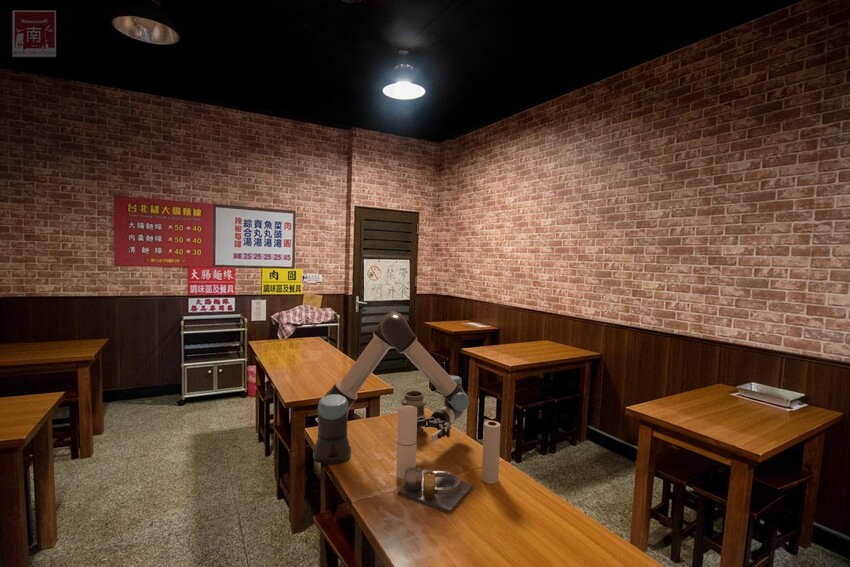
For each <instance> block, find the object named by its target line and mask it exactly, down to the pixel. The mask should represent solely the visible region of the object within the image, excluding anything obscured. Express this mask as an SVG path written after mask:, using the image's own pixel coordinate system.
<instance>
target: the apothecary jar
mask: <svg viewBox="0 0 850 567" xmlns="http://www.w3.org/2000/svg"><path fill="white" fill-rule="evenodd" d="M406 405H409V406H414V407H416V408H417V417H421V416H423V415H424V416H425V418H427V416H426V415H425V406H426V405H427V399H426V398H425V396H424V393H423V392H422V391H420V390H408V391H406V392H405V393H404V397H403V398H402V399H401V406H406ZM423 431H424V432H425V430H424V428H423V427H417V435H421V434H423V433H424V432H423Z"/></svg>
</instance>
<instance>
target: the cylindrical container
mask: <svg viewBox="0 0 850 567" xmlns="http://www.w3.org/2000/svg"><path fill="white" fill-rule="evenodd" d="M396 436H397V438H396V441H397V442H396V444H397V445H396V472H395V473H396V477H397V478H399V479H401V480H405V470H406V469H408V468H411V467H416V468H417V466H416V465H417V463H416V462H417V440H418V438H417V408H416V407H414V406H409V405H406V406H403V405H401V406H399V407H398V408H397V435H396Z"/></svg>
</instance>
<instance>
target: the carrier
mask: <svg viewBox="0 0 850 567" xmlns="http://www.w3.org/2000/svg"><path fill="white" fill-rule="evenodd" d="M473 489H474V484H472V483H470V482H469V483H468V482H466V481H463V480H460V477H459V476H458V475H457V474H455V473H453V472H450V471H445V470H434V471H431V470H428V469H423V470H422V469H421V468H419V467H417V466H416V467H411V468H408V469H406V470H405V479H404V485H403V486H402V487H400V489H398V490H397V496H401V497H403V498H406V499H409V500H412V501H414V502H417V503H420V504H422V505H426V506H428V507H430V508H433V509H436V510H439V511H441V512H443V513H448V514H451V513H452V512H453V511H454V510H455V509H456V508H457V506H459V504H460V503H461V502H462V501H463V500H464V499H465V497H467V495H468V494H469V493H470V492H471V491H472V490H473Z"/></svg>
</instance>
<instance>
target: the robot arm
mask: <svg viewBox="0 0 850 567" xmlns="http://www.w3.org/2000/svg"><path fill="white" fill-rule="evenodd" d="M372 332H373V333H372V334H373V335H372V336H373V338H372V339H371V340H370V342H369V343H368V344H367V345H366V347H365V349H364V350H363V351H362V352H361V354H360V355H359V356H358V358H356V361H355V362H354V363H353V364H352V365H351V368H349V370H348V372H347V373H346V374H345V375H344V377H343V378H342V379H341V380H340V381H336V382H335V383H334V384H333V385H332V387H331V389H329V390H328V391H327V392H326V393H325V394H324V396H323V397H322V398H321V397H320V399H319V401H318V405H317V438H316V441H315V445H314V449H313V450H312V458H313V460H314V461H315V462H316V463H317V464H322V465H336V464H341V463H345V462H346V461H347V460H349V459H350V458H351V456H352V447H351V445H350V441H349V438H348V417H349V411H350V409H351V407H353V405H354V403H355V402H356V400H357V399H358V392H359V390H360V389H361V388H362V387H363V385H364V384H365V382H366V381H367V380H368V378H369V377H370V376H371V374H372V373H373V372H374V370H376V367H377V366H378V365H379V364H380V362H381V361H382V359H383V358H384V357H385V356H386V354H387V353H388V351H389V350H390V349H395V350H396V351H398V353H399V354H404V355H405V357H407V359H408V360H409V361H410V362H411V363H412V364H413V365H414V366H415V368H417V369H418V370H419V371H420V372H421V374H422V375H424V377H425V378H426V379H427V380H428V381H429V382H430V383H431V384H432V385H433V387H434V388H435V389H437V390H438V391H439V392H440V393H441V395H442V396H443V397H444V399H443V400H444V401H443V406H442V407H441V408H439V409H438V410H435V411H434V412H433V413H432V414H431V415H430V417H429V416H428V417H426V418H425V416H426V415H425V414H424V415H425V416H424V415H423V416H421V417H417V427H422V428H423V427H424V428H434V429H437V431H436V432H434V433H433V434H431V443H433V444H434V443H435V442H436V441H438V440H439V439H442V438H444V437H446V438H451V437H450V436H451V429H452V423H453V422H454V421H456V420H457V419H459V418H461V416H462V415H463V414H464V413H465V412H464V411H465V410H466V409H467V408H468V407H469V405H470V399H469V397H468V396H469V395H468V394H467V393H466V392H465V390H464V389H463V387H462V385H463V383H462V382H463V380H462V378H461V377H460V376H458V375H450V374H448V372H446V370H445V369H444V368H443V366H441V365H440V364H439V363H438V362H437V361H436V359H435V358H434V357H433V356H432V355H431V354H430V353H429V352H428V350H426V349H425V347H424V346H423V345H422V344H421V343H420V342H419V341H418V336H417V335H416V334H415V333H414V332H413V330H412V329H411V327H410V325H409V324H408V320H407V318H406V317H405V316H404V315H403V314H401V313H400V312H397V311H391V312H387V313H386V314H384V315H383V316H382V317H381V319H380V322H379V324H378V325H377V326H376V327H375V329H374V330H373V331H372Z"/></svg>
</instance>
